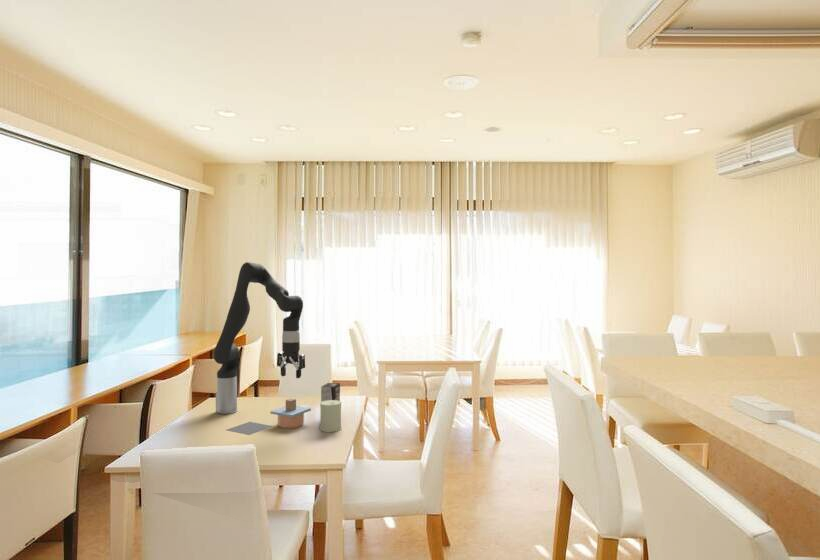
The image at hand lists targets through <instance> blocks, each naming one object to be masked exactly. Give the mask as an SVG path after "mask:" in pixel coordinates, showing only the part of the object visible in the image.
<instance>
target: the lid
mask: <svg viewBox="0 0 820 560" xmlns="http://www.w3.org/2000/svg"><path fill="white" fill-rule="evenodd" d="M311 411H312V408H311V407H304V406H298V405H297V399H295V398H288V399H285V405H284V406H282V407H279V408H277V409H276V408H275V409H274V410H271V411H270V412H269V413H270V415H271V414H272V415H277V416H278V415H281V416H287V417H295V416H298V415H300V414H303V413H304V414H305V413H309V412H311Z"/></svg>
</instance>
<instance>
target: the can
mask: <svg viewBox="0 0 820 560" xmlns="http://www.w3.org/2000/svg"><path fill="white" fill-rule="evenodd" d="M319 404H320V405H319V406H320V408H319V409H320V424H319V425H320V427H319V429H320V431H321V432H325V433H333V432H334V431H335V432H338V431H341V430H342V401H341V400H340V401H338V400H326V401H322V402H321V401H320V403H319ZM340 429H341V430H340Z"/></svg>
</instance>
